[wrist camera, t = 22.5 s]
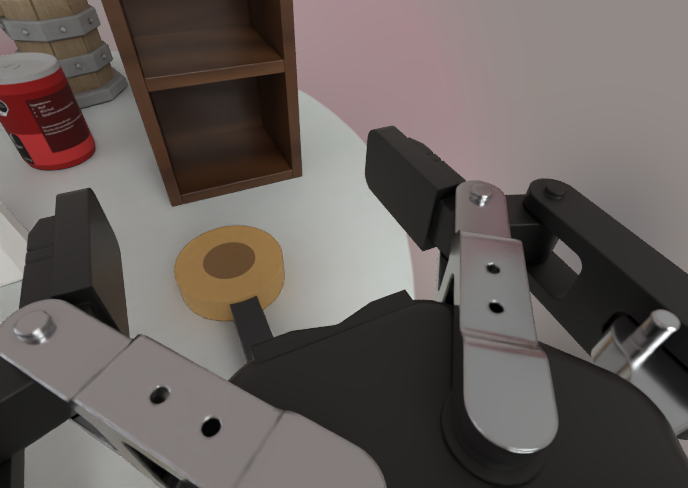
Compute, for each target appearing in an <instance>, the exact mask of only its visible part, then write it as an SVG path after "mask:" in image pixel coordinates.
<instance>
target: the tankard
mask: <svg viewBox="0 0 688 488" xmlns="http://www.w3.org/2000/svg"><path fill="white" fill-rule="evenodd" d="M99 25H100V21H99V18H98V15H97V13H96V10H95V8H94V7H92V6H90V5H89V4H88V2H87V0H0V27H1V29H3V31H4V32H5V33H6V34H7V35H8V36H9V37H10V38H11V39H12V40H14V42H15V44H16V46H17V48H18V50H16V51H15V53H28V52H35V53H44V54H49V55H52V56H54V57H56V58H57V60H58V62H59V63H60V65H61V67H62V70H63V72H64V74H65V76H66V78H67V80H68V83H69V85H70V87H71V89H72V92H73V94H74V96H75V99H76V101H77V103H78V105H79V108H80V109H81V108H85V107H89V106H92V105H96V104H100V103H103V102H107V101H111V100H113V99H114V98H115V97H116V96H117V95H118V94H119V93H120V92H121V91H122V90H123V89H124V88H125V87H126V86H127V82H126V79H125V77H124V76H123V75H121V74H120V73H119V72H118V71H116V70H115V69H114V68H112V67H111V65H110V61H112V59H113V57H112V55H111V52H110V49H109V46H108V44H106V43H105V42H104V41H102V40H101V38H100V35H99V32H98V30H97V27H98V26H99Z"/></svg>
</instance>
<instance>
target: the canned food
mask: <svg viewBox="0 0 688 488" xmlns="http://www.w3.org/2000/svg"><path fill="white" fill-rule="evenodd" d="M0 122H1V123H2V125H3V127H4V128H5V130H6V132H7V133H8V135H9V137H10V138H11V140H12V141H13V143H14V145H15V146H16V148H17V150H18V151H19V153H20V155H21V156H22V158H23V159H24V160H25V161H26V162H27V163H28V164H29V165H30V166H31V167H33V168H36V169H40V170H60V169H65V168H69V167H73V166H75V165H78V164H80V163H82V162H84V161H86V160H87V159H89V158H90V157H91V156H92V155H93V153H94V151H95V143H94V139H93V137H92V135H91V132H90V130H89V128H88V126H87V123H86V121H85V119H84V117H83V114H82V112H81V110H80V108H79V105H78V103H77V101H76V99H75V96H74V94H73V92H72V89H71V87H70V85H69V83H68V80H67V78H66V76H65V74H64V72H63V70H62V67H61V65H60V63H59V62H58V60H57V58H56V57H54V56H52V55H49V54H44V53H35V52H28V53H15V54H8V55H3V56H0Z"/></svg>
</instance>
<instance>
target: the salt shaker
mask: <svg viewBox="0 0 688 488" xmlns="http://www.w3.org/2000/svg"><path fill="white" fill-rule="evenodd" d="M28 234H29V232H28V231H27V230H26V229H25V228H24V227H23V226H22V225H21V224H20V222H19V221H18V220H17V219H16V218H15V217H14V216H13V215H12V214H11V212H10V211H9V210H8V209H7V208H6V207H5V206H4V205H3V204H2V202H1V201H0V287H1V286H4V285H8V284H11V283H14V282H17V281H20V280H23V273H24V265H26V264H25V257H26V253H27V250H26V248H27V240H28Z"/></svg>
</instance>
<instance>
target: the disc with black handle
mask: <svg viewBox="0 0 688 488" xmlns="http://www.w3.org/2000/svg"><path fill="white" fill-rule="evenodd" d="M174 273H175V278H176V281H177V284H178V286H179V289H180V291H181V294H182V296H183V299H184V301H185V303H186V304H187V306H188V307H189V308H190V309H191V310H192V311H193V312H195V313H196V314H198V315H200V316H202V317H204V318H208V319H211V320H217V321H232V320H234V322H235V325H236V328H237V332H238V335H239V338H240V341H241V344H242V347H243V350H244V353H245V356H246V360H247V363H248V362H250V361H251V360H252V359H253V357H252V353H251V349H250V346H252V345H255V344H258V343H260V342H263V341H266V340H269V339H271V338H273V336H272V333H271V331H270V328H269V326H268V323H267V320H266V318H265V315H264V313H263V309H265V308H266V307H267V306H269V305H270V304H271V303H272V302H273V301H274V300H275V299H276V297H277V296H278V295H279V293H280V291H281V289H282V287H283V284H284V279H285V273H284V264H283V255H282V250H281V248H280V245H279V244H278V242H277V241H276V240H275V239H274V238H273V237H272V236H271V235H270V234H268V233H267V232H265V231H263V230H260V229H257V228H254V227H249V226H226V227H221V228H217V229H214V230H211V231H208V232H206V233H204V234H202V235H200V236H198V237H196V238H195V239H193V240H192V241H191V242H189V243H188V244H187V245H186V246H185V247H184V249H183V250H182V251H181V252H180V254H179V256H178V258H177V260H176V263H175V269H174Z"/></svg>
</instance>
